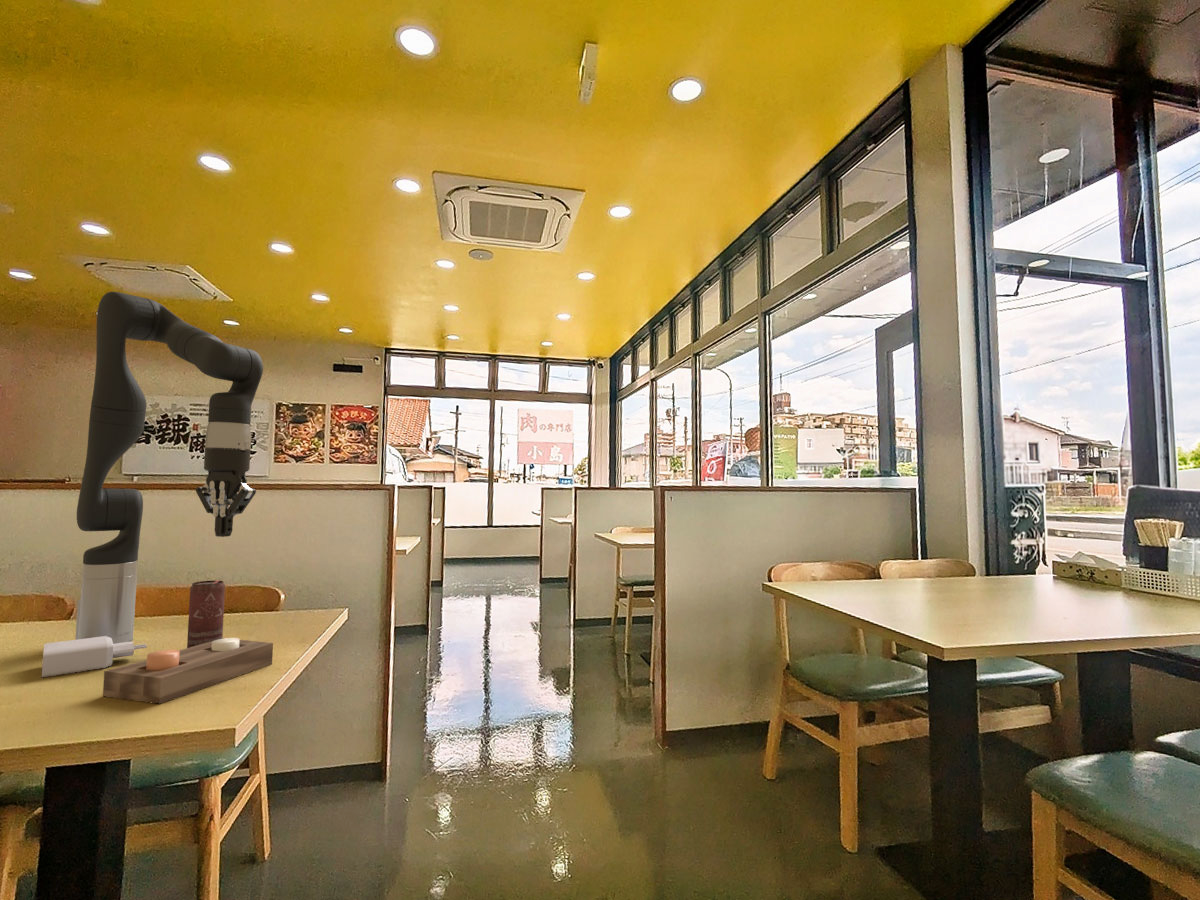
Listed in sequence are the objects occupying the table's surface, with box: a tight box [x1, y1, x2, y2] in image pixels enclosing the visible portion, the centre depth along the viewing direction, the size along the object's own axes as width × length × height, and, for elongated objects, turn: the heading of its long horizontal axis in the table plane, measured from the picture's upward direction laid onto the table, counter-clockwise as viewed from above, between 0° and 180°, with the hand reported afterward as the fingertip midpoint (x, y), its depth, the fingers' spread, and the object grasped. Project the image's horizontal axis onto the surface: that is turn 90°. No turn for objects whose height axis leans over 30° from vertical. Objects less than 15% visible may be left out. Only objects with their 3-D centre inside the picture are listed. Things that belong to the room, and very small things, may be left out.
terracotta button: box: [146, 649, 180, 671], centre depth 99 cm, size 4×4×4 cm
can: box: [186, 579, 226, 648], centre depth 123 cm, size 6×6×14 cm
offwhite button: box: [211, 637, 241, 652], centre depth 110 cm, size 4×4×4 cm
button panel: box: [102, 637, 274, 705], centre depth 105 cm, size 12×22×4 cm, turn 165°
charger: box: [41, 636, 147, 679], centre depth 112 cm, size 5×9×15 cm
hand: (223, 536), depth 114 cm, fingers closed
